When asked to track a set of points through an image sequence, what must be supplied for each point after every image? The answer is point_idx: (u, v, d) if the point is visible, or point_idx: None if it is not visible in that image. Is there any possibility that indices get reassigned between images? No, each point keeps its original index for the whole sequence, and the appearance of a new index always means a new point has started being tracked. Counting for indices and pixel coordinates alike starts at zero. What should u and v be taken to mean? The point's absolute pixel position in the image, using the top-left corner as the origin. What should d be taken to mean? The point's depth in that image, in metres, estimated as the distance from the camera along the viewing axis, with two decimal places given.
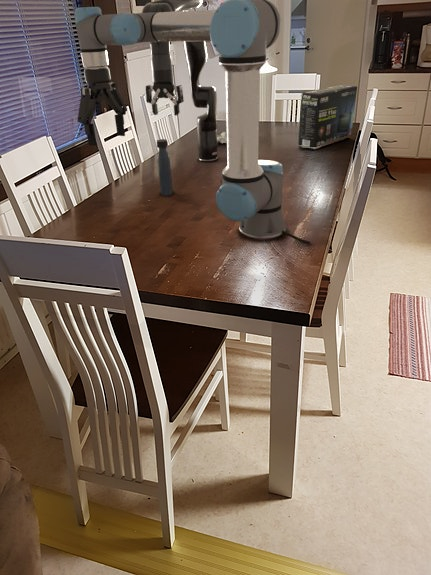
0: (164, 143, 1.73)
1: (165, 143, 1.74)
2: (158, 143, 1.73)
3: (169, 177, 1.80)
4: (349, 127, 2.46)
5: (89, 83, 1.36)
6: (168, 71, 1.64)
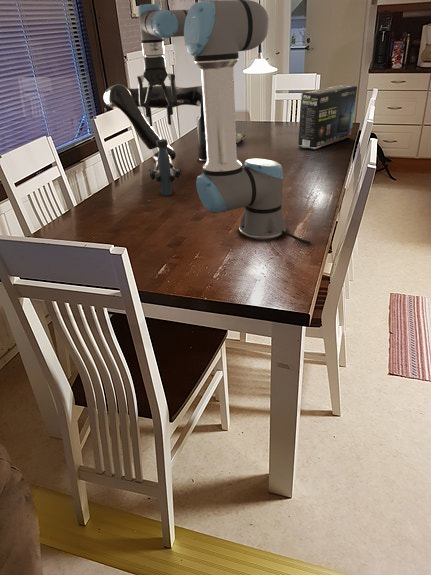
0: (164, 143, 1.73)
1: (165, 143, 1.74)
2: (158, 143, 1.73)
3: (169, 177, 1.80)
4: (349, 127, 2.46)
5: (165, 67, 1.62)
6: None
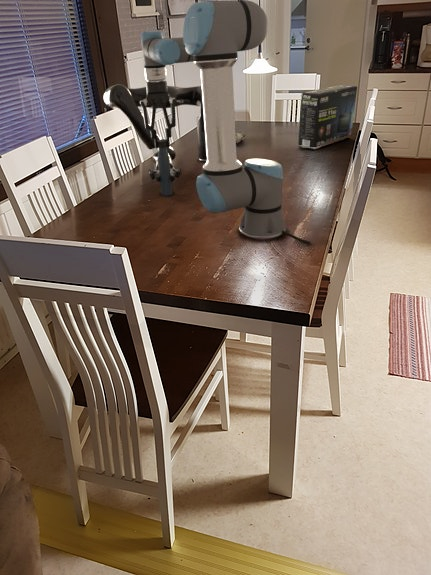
0: (164, 143, 1.73)
1: (165, 143, 1.74)
2: (158, 143, 1.73)
3: (169, 177, 1.80)
4: (349, 127, 2.46)
5: (167, 91, 1.66)
6: None
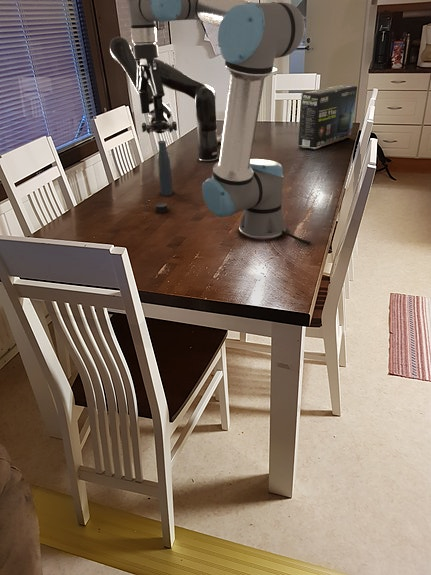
0: None
1: None
2: (166, 206, 1.68)
3: (169, 177, 1.80)
4: (349, 127, 2.46)
5: None
6: None
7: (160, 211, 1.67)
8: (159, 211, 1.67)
